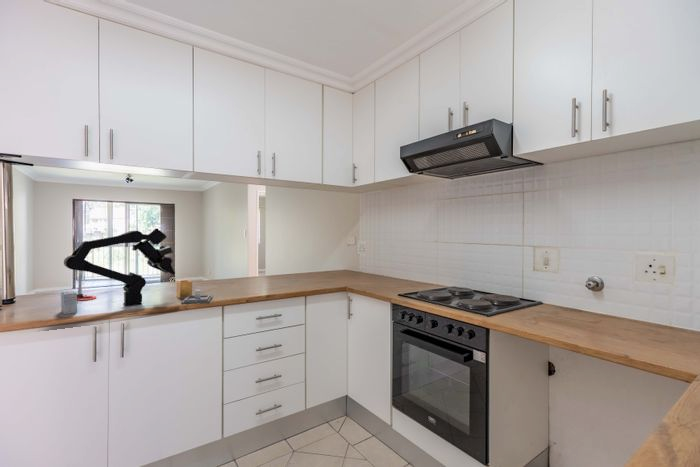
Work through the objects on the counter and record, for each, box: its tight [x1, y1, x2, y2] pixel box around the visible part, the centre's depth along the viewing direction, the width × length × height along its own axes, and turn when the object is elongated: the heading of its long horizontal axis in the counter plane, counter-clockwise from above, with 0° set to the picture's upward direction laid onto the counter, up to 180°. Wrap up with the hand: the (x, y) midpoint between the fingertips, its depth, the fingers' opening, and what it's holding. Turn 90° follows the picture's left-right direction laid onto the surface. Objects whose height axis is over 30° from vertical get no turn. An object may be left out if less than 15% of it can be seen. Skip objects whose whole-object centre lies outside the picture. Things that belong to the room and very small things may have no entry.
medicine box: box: [60, 290, 78, 315], centre depth 140 cm, size 8×4×9 cm, turn 48°
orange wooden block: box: [176, 279, 193, 299], centre depth 173 cm, size 6×6×8 cm
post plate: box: [180, 289, 213, 305], centre depth 165 cm, size 12×12×5 cm
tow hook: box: [77, 273, 97, 302], centre depth 165 cm, size 8×13×9 cm
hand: (170, 273), depth 168 cm, fingers open, 9 cm apart
